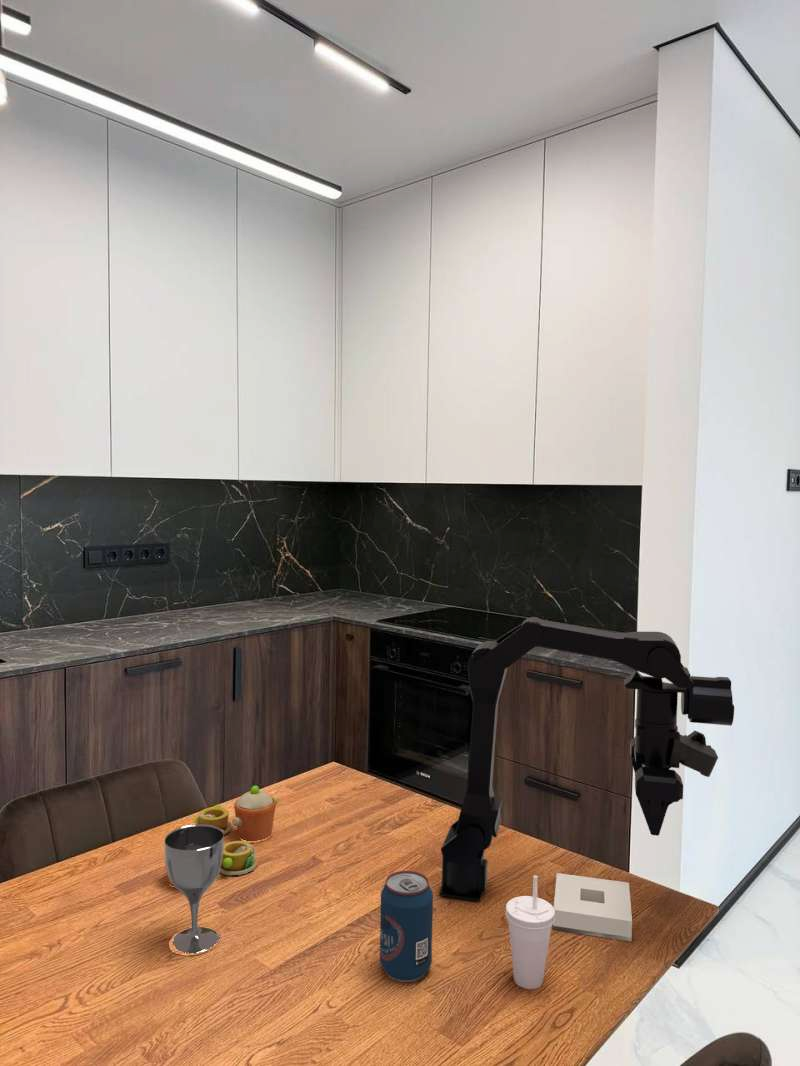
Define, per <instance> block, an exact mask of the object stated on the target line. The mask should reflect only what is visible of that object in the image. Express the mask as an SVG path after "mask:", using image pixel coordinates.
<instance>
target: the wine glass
mask: <svg viewBox="0 0 800 1066" xmlns="http://www.w3.org/2000/svg"><path fill="white" fill-rule="evenodd" d="M224 837H225V835H223V831H222V830H221V829H220V828H218V827H215V826H212V825H206V824H190V825H184V826H181V827H177V828H176V829H173V830H171V831H170V832H169V833H167V835H166V836H165V838H164V863H165V862H166V865H165V869H166V868H167V871H166V873H167V872H168V876H169V878H170V881H171V882H172V883H173V885H174V886H175V887H176V888H175V889H177V890H178V891H180V893H182V894H183V895H184V897H185V898H186V900H187V901H188V903H189V909H190V916H191V917H190V918H191V927H192V928H189V927H188V928H189V929H187V930H184V931H182V932H180V933H178V934H177V935H176V936H175V937H174V941H173V942H172V943H173V945H175V947H176V949H178V950H179V951H182V952H184V953H185V952H186V953H188V952H189V954H190V953H194V954H196V953H199V952H204V951H207V950H205V949H210V947H213V946H214V944H216V942H217V943H218V941H219V939H220V938H221V936H220V937H219V935H218V934H217V933H218V932H219V931H218V932H217V933H216V931H214V930H212V929H210V928H205V927H197V926H198V917H199V916H198V915H199V908H200V901H201V899H202V897H203V895H204V894H205V892H206V891H207V890H208V889H209V888H210V887H211V886H212V885H213V883H215V880H216V879H217V878H218V876H219V875H220V872H219V871H220V867H221V863H222V858H223V848H224V844H225V841H224V840H225V838H224ZM217 935H218V936H217ZM217 940H218V941H217ZM220 940H221V939H220Z"/></svg>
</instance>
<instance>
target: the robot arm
mask: <svg viewBox="0 0 800 1066" xmlns="http://www.w3.org/2000/svg"><path fill="white" fill-rule="evenodd" d="M534 648H544V649H550V650H554V651H555V650H556V651H561V652H567V653H571V654H576V655H583V656H588V657H593V658H598V659H603V660H608V661H614V662H616V663H619V664H621V665H623V666H624V667H627V668H628V669H632V670H633V672H632V673H631V674H630V675H629V676H628V677H626V678H624V680H623V681H624V686H625V689H630V690H636V709H635V710H636V712H635V716H636V718H635V719H634V721H635V722H634V728H635V736H634V737H633V738H632V739H630V743H629V745H630V746H629V747H630V748H629V753H630V755H629V756H630V760H631V765H632V769H633V770H634V771H633V772H634V790H635V791H634V792H635V796H636V799H637V801H638V803H639V806H640V808H641V811H642V814H643V816H644V818H645V821H646V825H647V827H648V830H649V833H650V835H652V836H660V833H661V830H662V827H663V823H664V820H665V818H666V815H667V814H666V813H667V811H668V807H670V805H672V804H673V803H677V802H679V801H680V800H684V784H683V780H682V777H681V775H680V774H679V773H678V772H676V770H675V769H680V765H682V766H685V767H687V768H689V769H691V770H693V771H696V772H698V773H700V775H701V776H703V777H706V778H709V777H710V776H711V774H712V772H713V770H714V768H715V765H716V763H717V761H718V759H719V756H718V754H717V751H716V750H715V749H714V748H712V746H711V745H709V744H708V745H707V742H706V741H707V738H706V736H705V734H703V733H702V732H700V731H697V730H693V731H692V732H691V733H690V734H688V735H687V734H684V735H683V734H681V733H680V731H679V730H678V728H679V727H678V725H677V723H678V722H677V721H678V719H677V717H678V700H679V699H678V697H679V696H678V694H680V695H681V696H680V711H681V715H684V716H686V715H687V719H688V721H689V723H692V724H693V723H695V724H696V723H697V724H705V725H707V724H708V725H718V726H719V725H720V726H730V727H731V726H732V725H733V723H734V717H735V705H734V702H733V701H734V699H733V691H732V680H731V679H730V678H729V676H728V677H727V676H716V677H712V676H710V677H709V676H697V675H696V676H694V675H691V673H690V671H689V669H688V667H685V666H684V665H683V663H682V656H681V652H680V650H679V648H678V646H677V643H676V642H675V641H674V639H673V638H672V637H671V636H670V635H668V634H667V633H665V632H661V631H631V632H630V631H627V632H614V631H607V630H602V629H595V628H590V627H586V626H585V627H583V626H579V625H573V624H567V623H562V622H557V621H551V620H546V619H545V620H544V619H541V618H540V617H537V616H531V617H528V618H526V619H525V620H524V621H522V623H520V624H519V625H518V626H516V627H515V628H513V629H512V630H510V631H507V633H505V634H503V635H501V636H500V637H499V638H497V639H496V640H486V641H483V642H481V643H479V644H478V645H477V646H476V648H475V649H474V650H473V652H472V653H471V655H470V656H469V658H468V660H467V663H466V664H467V666H466V667H467V676H468V677H467V679H468V686H469V691H470V696H471V701H472V710H471V711H472V713H471V726H470V727H471V728H470V739H469V740H470V742H469V752H468V753H469V755H468V769H467V779H466V780H467V782H466V783H467V785H466V790H465V795H464V798H463V801H462V805H461V809H460V812H459V816H458V819H457V820H456V821H454V822H453V823H452V824H451V825H450V827H449V830H448V831H447V834H446V835H445V839H444V841H443V844H442V846H441V849H440V851H441V854H442V858H441V859H442V862H441V863H442V868H441V871H442V872H441V886H440V888H439V896H441V897H446V898H453V899H460V900H466V901H475V902H480V901H481V900H482V896H483V893H485V892H486V890H487V886H488V864H489V863H488V860H487V858H486V859H485V851H486V850H487V849H488V848H490V845H491V844H492V841H493V838H495V839H496V838H497V837H498V834H499V829H500V826H501V822H502V815H501V807H502V802H503V796H495V794H494V789H493V777H494V765H495V752H496V751H495V750H496V747H495V746H496V740H497V739H496V737H497V736H496V735H497V724H498V723H497V722H498V711H499V710H498V709H499V699H500V696H501V694H502V690H503V687H504V682H505V679H506V675H507V672H508V668H509V667H511V666H512V665H514V664H515V663H516V662H517V661H519V660H520V659H521V658H522V657H523V656H525V655H526V654H528V653H529V652H530V651H531V650H533V649H534ZM641 673H642V674H645V675H642V674H641ZM663 679H666V680H667V681H669V682H665V681H664V682H663Z"/></svg>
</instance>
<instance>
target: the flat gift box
mask: <svg viewBox="0 0 800 1066" xmlns="http://www.w3.org/2000/svg"><path fill="white" fill-rule="evenodd" d="M630 893H631V892H630V882H626V881H618V880H612V879H611V880H610V879H604V878H597V877H596V878H595V877H588V876H583V875H582V876H581V875H574V874H566V873H560V872H556V879H555V890H554V898H553V899H554V900H553V908H554V910H555V921H554V923H553V924H552V931H560V932H565V933H573V934H579V935H585V936H591V937H598V938H604V939H605V938H606V939H612V940H617V939H618V941H624V942H625V941H626V942H630V943H631V942H632V937H633V936H632V935H633V917H632V916H633V915H632V905H631V894H630Z"/></svg>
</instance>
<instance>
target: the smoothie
mask: <svg viewBox="0 0 800 1066" xmlns="http://www.w3.org/2000/svg"><path fill="white" fill-rule="evenodd" d="M538 878H539V876H538V875H533V877H532V879H533V880H532V896H530V895H522V896H521V895H520V896H516V897H512V898H511V899H510V900H509V901H507V903H506V905H505V917H506V919H507V920H508V930H509V941H510V948H511V949H510V951H511V961H512V972H513V980H514V982H515V984H516V985H517V986H519V988H523V989H526V990H536V989H538V988H540V987H542V985H543V982H544V975H545V971H546V970H545V969H546V962H547V957H548V952H549V951H548V950H549V945H550V940H551V934H552V928H553V923H554V921H555V910H554V905H552V904H551V903H549V902H548V901H547V900H545V899H543V898H540V897H538V881H539V879H538Z"/></svg>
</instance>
